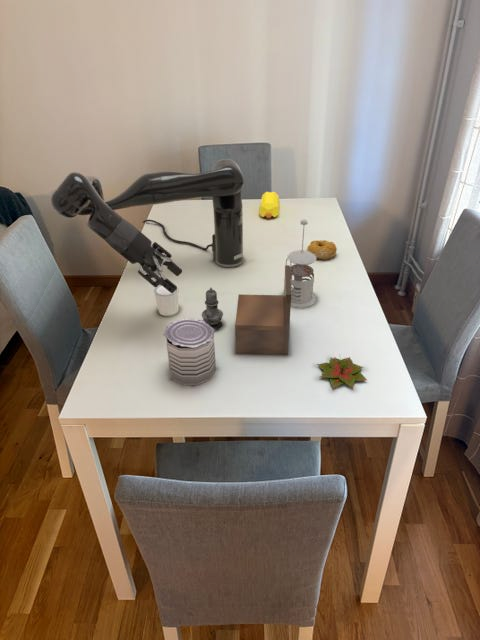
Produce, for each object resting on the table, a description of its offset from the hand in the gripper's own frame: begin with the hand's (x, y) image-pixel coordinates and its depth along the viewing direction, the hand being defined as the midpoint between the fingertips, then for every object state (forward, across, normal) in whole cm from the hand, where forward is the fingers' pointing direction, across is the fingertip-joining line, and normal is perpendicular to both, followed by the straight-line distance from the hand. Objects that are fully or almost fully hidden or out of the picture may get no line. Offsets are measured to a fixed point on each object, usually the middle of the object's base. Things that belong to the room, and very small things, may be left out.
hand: (177, 281), depth 126 cm
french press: (+32, -15, +13) cm, 38 cm away
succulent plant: (+39, +19, +20) cm, 48 cm away
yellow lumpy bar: (+26, -80, +7) cm, 85 cm away
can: (+14, +19, -6) cm, 24 cm away
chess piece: (+16, 0, -4) cm, 16 cm away
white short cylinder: (+6, -7, -13) cm, 16 cm away
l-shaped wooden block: (+25, +5, +6) cm, 26 cm away
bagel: (+39, -43, +20) cm, 62 cm away
